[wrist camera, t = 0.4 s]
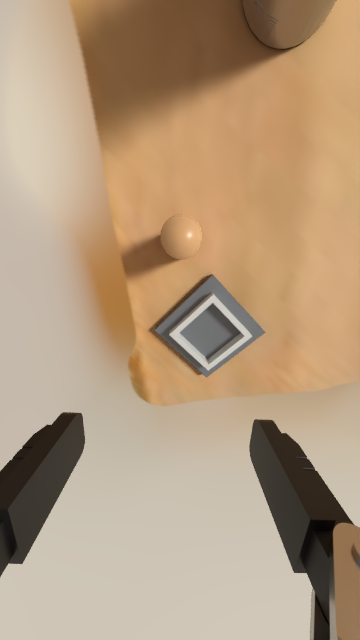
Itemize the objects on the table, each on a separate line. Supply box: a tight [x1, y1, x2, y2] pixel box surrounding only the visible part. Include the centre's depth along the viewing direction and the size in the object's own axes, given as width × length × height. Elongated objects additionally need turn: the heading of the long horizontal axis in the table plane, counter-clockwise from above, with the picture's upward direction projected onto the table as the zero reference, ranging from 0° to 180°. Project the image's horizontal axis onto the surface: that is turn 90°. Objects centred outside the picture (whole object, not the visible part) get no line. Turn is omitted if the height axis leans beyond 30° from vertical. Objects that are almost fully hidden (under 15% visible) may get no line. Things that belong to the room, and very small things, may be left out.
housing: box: [154, 274, 265, 377], centre depth 28 cm, size 12×12×3 cm
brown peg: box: [161, 214, 202, 259], centre depth 22 cm, size 4×4×8 cm
